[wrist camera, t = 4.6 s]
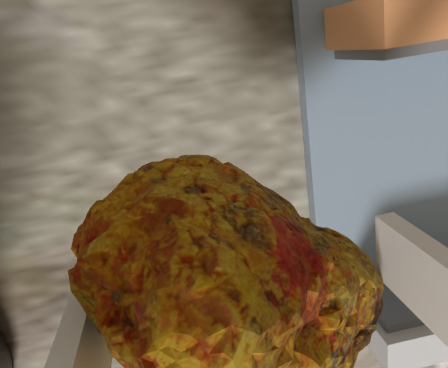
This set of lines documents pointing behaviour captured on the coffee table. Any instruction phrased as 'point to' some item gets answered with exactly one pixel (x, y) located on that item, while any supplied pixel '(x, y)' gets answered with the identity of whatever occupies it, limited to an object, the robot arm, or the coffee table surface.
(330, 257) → the rock
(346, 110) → the base
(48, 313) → the coffee table surface
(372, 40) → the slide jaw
